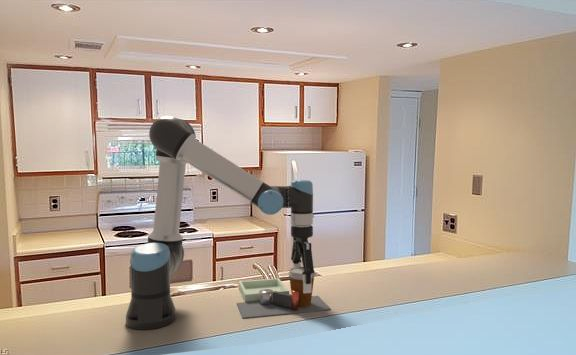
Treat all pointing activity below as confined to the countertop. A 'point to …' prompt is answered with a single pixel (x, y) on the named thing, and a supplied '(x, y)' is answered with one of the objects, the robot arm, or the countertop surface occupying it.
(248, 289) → the tray
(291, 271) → the disposable coffee cup
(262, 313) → the mat
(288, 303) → the crank
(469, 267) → the countertop surface
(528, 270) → the countertop surface
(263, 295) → the hub
